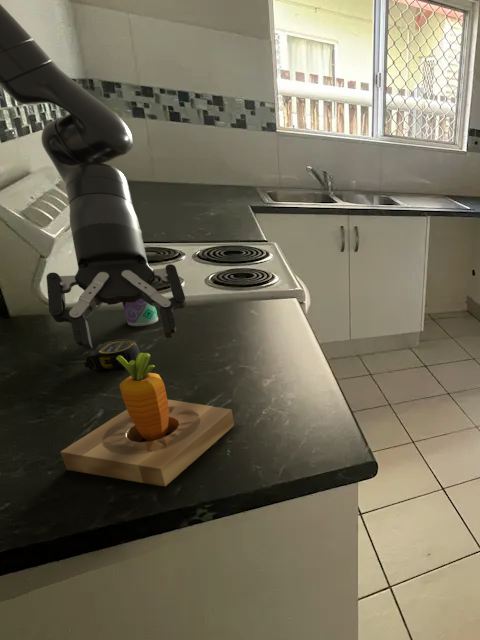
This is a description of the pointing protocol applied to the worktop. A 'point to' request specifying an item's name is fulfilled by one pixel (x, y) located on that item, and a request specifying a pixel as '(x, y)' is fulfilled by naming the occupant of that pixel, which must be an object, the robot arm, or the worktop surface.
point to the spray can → (140, 313)
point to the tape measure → (112, 354)
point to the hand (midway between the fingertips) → (129, 341)
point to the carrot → (145, 398)
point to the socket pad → (149, 445)
